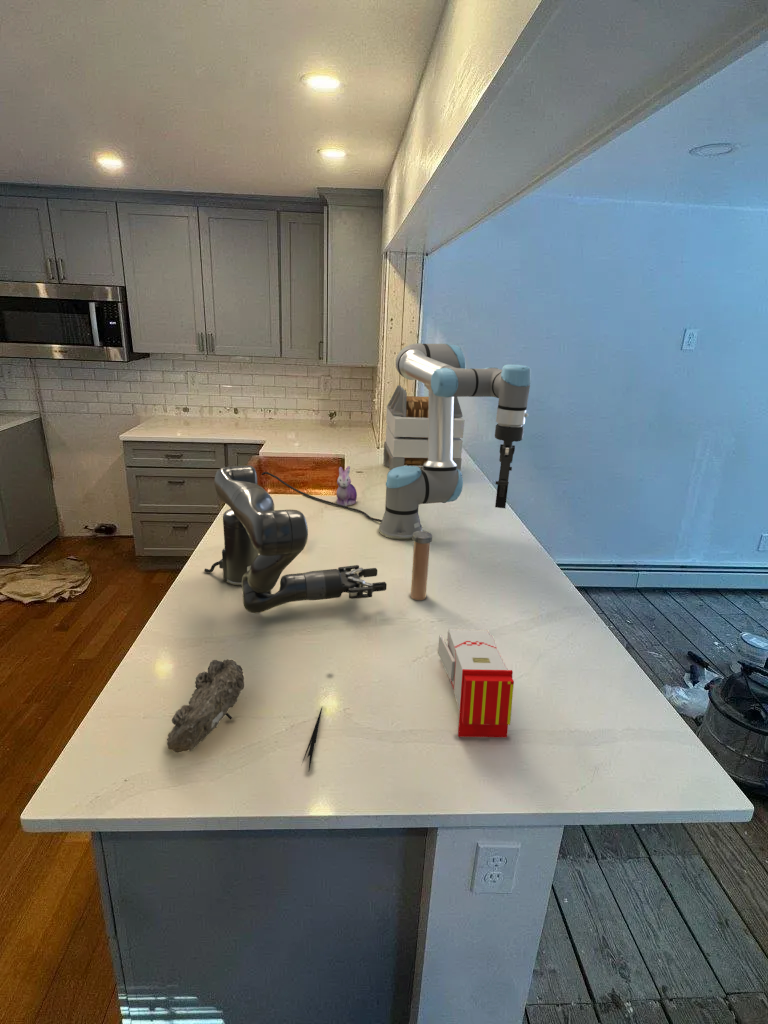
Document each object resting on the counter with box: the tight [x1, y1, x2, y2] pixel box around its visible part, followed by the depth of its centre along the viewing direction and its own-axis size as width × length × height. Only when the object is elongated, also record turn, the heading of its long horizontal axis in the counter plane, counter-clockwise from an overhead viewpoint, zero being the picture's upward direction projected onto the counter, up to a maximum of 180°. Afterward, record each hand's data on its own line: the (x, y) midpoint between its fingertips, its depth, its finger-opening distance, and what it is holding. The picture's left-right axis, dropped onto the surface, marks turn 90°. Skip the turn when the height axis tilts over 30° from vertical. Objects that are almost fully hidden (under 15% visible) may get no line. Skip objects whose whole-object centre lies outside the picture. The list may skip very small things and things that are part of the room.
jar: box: [409, 541, 431, 601], centre depth 154 cm, size 4×4×18 cm
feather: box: [301, 673, 332, 771], centre depth 108 cm, size 2×28×2 cm
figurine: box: [335, 465, 358, 507], centre depth 226 cm, size 9×10×15 cm
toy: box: [437, 628, 515, 738], centre depth 117 cm, size 12×13×30 cm
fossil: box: [166, 658, 245, 754], centre depth 106 cm, size 22×10×15 cm
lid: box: [411, 530, 433, 544], centre depth 151 cm, size 5×5×2 cm
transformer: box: [383, 384, 465, 472], centre depth 268 cm, size 34×33×41 cm
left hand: (381, 578), depth 151 cm, fingers open, 8 cm apart
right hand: (501, 499), depth 159 cm, fingers open, 13 cm apart
